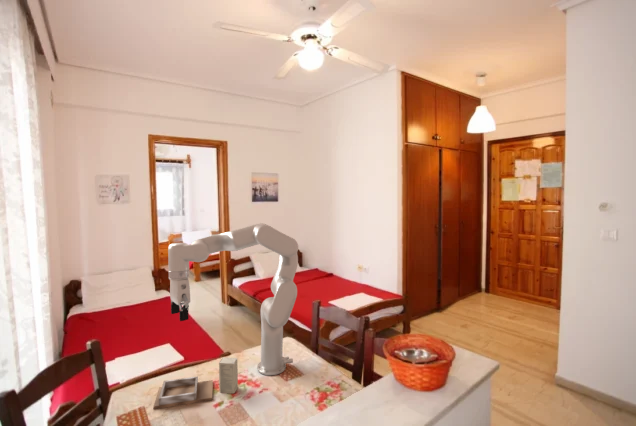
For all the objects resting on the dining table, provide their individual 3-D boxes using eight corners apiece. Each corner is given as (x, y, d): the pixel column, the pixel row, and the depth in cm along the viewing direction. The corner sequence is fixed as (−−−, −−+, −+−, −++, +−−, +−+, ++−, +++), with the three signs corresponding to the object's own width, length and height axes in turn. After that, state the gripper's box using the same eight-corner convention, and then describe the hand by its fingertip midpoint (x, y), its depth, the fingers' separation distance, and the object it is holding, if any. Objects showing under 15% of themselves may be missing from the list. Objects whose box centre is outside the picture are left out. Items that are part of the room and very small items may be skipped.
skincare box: (238, 387, 132) (238, 358, 131) (234, 394, 127) (234, 363, 126) (222, 386, 132) (223, 356, 132) (218, 392, 128) (218, 362, 127)
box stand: (212, 382, 135) (212, 374, 134) (212, 400, 123) (212, 391, 123) (159, 389, 129) (159, 381, 129) (153, 409, 117) (153, 399, 117)
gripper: (197, 277, 126) (197, 320, 127) (180, 269, 139) (181, 308, 140) (176, 280, 121) (177, 325, 122) (162, 271, 134) (162, 312, 135)
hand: (179, 316), depth 131 cm, fingers open, 9 cm apart
